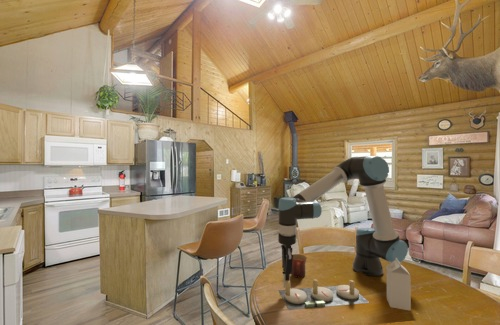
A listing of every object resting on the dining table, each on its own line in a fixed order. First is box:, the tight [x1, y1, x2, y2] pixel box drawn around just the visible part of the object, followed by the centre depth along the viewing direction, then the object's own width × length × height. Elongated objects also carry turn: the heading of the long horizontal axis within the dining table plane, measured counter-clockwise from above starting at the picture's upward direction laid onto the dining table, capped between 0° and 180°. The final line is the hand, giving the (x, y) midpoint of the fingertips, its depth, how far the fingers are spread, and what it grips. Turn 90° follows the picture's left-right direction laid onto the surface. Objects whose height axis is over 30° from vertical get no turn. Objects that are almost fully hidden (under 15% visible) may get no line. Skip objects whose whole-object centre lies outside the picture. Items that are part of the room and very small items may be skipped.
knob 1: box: [284, 280, 307, 304], centre depth 102 cm, size 9×9×7 cm
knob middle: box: [311, 278, 333, 302], centre depth 104 cm, size 9×9×7 cm
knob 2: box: [336, 279, 360, 299], centre depth 106 cm, size 9×9×7 cm
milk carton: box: [386, 258, 412, 312], centre depth 99 cm, size 7×7×19 cm
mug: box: [290, 253, 307, 279], centre depth 124 cm, size 12×9×10 cm
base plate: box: [278, 284, 370, 311], centre depth 104 cm, size 35×15×2 cm, turn 99°
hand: (286, 287), depth 105 cm, fingers closed
